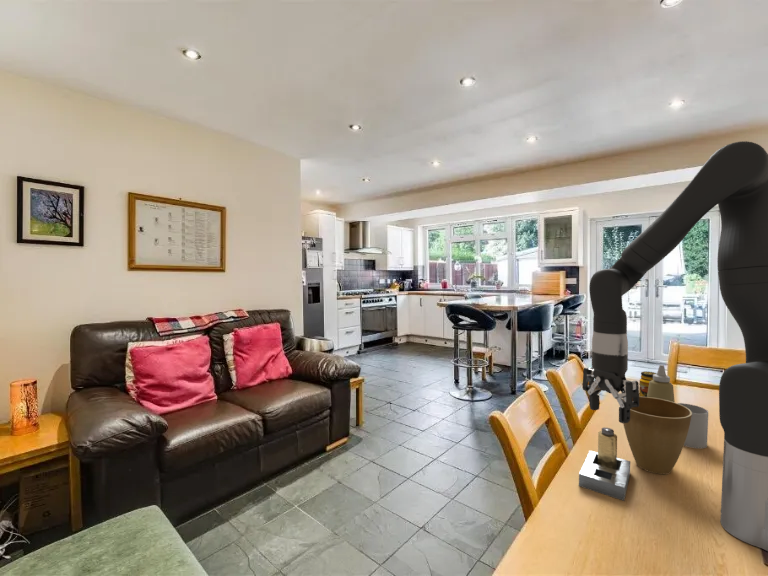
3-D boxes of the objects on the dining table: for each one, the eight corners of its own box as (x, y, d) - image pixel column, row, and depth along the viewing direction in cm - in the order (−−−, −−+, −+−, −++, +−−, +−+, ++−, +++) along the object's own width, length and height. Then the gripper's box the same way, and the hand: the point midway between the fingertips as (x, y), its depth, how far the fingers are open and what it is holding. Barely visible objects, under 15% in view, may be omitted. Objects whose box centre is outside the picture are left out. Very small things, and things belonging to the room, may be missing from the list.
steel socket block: (624, 500, 81) (624, 487, 81) (578, 486, 87) (579, 473, 86) (630, 472, 92) (630, 461, 92) (589, 461, 98) (589, 450, 97)
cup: (714, 449, 103) (715, 415, 103) (680, 447, 105) (682, 412, 104) (695, 436, 112) (696, 404, 111) (664, 434, 113) (665, 402, 113)
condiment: (640, 406, 136) (641, 374, 135) (633, 398, 144) (634, 368, 143) (664, 409, 133) (665, 376, 133) (656, 401, 141) (657, 370, 141)
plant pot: (642, 448, 104) (644, 392, 104) (703, 475, 91) (706, 412, 90) (604, 458, 99) (606, 400, 98) (663, 488, 85) (666, 421, 84)
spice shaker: (609, 479, 89) (610, 434, 88) (593, 471, 93) (594, 428, 92) (619, 475, 91) (620, 431, 90) (604, 467, 94) (604, 425, 94)
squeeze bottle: (646, 410, 132) (648, 361, 131) (675, 416, 127) (677, 364, 126) (644, 417, 125) (646, 365, 124) (674, 424, 120) (676, 369, 119)
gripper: (574, 346, 96) (574, 407, 96) (622, 357, 82) (621, 429, 83) (598, 344, 98) (597, 404, 98) (649, 355, 84) (648, 425, 85)
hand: (608, 415), depth 91 cm, fingers open, 8 cm apart
